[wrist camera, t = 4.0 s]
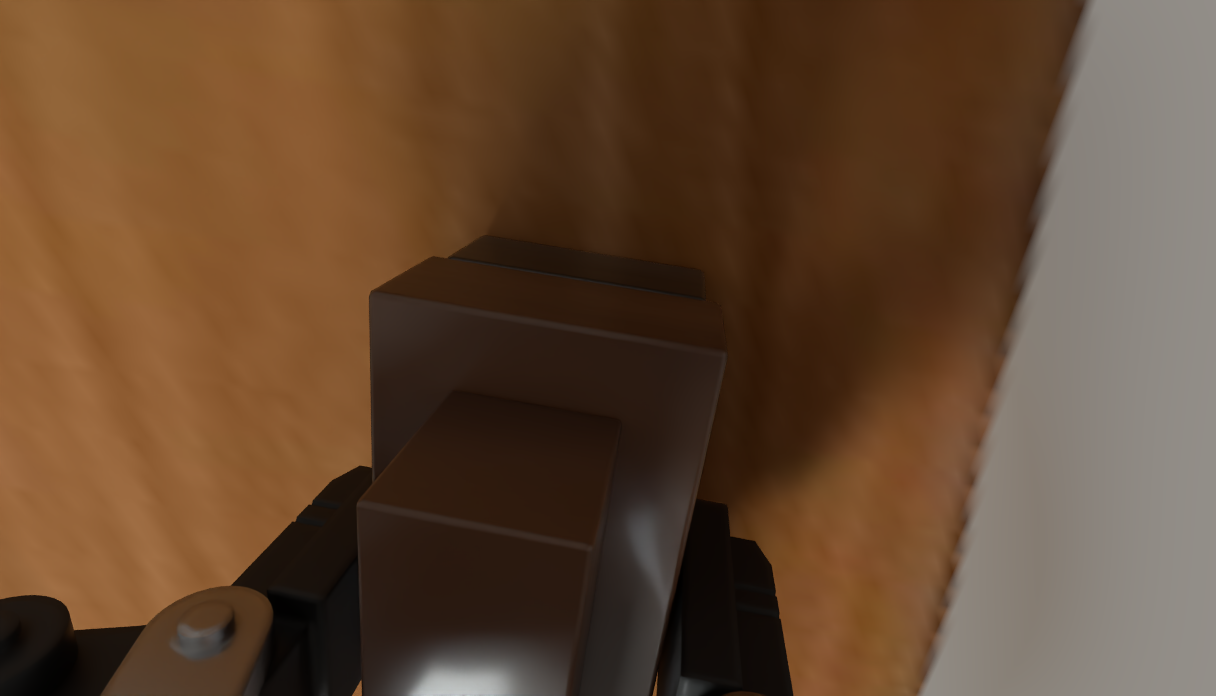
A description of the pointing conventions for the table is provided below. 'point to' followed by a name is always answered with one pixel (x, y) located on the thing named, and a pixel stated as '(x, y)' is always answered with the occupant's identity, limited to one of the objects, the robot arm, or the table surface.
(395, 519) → the brown stepped block
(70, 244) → the table surface
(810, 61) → the table surface
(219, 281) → the table surface
